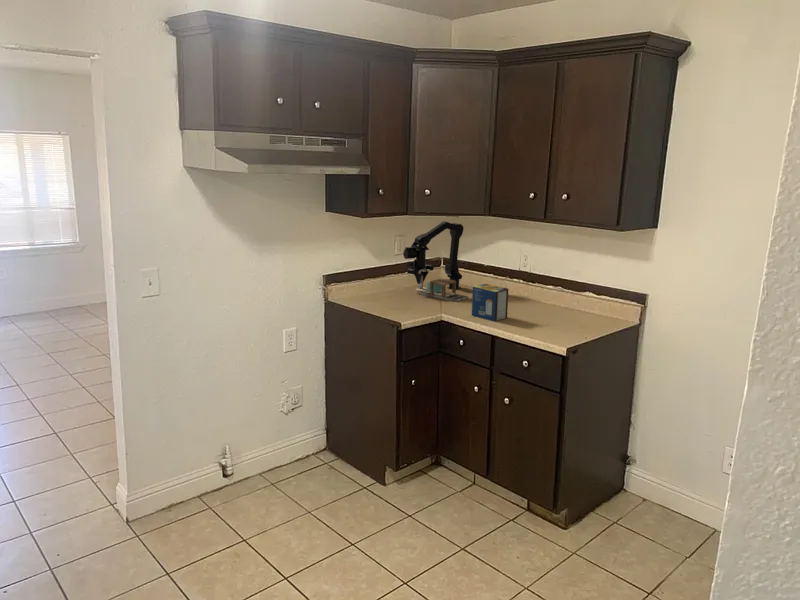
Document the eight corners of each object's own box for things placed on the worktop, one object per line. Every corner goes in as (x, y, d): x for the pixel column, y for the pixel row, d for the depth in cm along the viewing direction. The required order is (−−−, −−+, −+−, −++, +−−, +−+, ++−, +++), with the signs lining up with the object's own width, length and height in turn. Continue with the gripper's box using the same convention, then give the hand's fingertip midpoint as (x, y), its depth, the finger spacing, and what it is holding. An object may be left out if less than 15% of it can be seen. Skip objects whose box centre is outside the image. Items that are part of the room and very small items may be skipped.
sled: (422, 288, 376) (422, 274, 374) (455, 294, 361) (455, 279, 359) (414, 290, 370) (414, 276, 368) (447, 296, 355) (447, 281, 353)
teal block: (433, 289, 370) (433, 281, 368) (441, 291, 366) (441, 282, 365) (427, 291, 365) (427, 282, 364) (435, 292, 361) (435, 284, 360)
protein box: (484, 312, 328) (485, 283, 325) (507, 318, 317) (509, 288, 314) (470, 315, 322) (472, 286, 318) (494, 321, 311) (495, 291, 307)
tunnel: (430, 290, 375) (430, 276, 373) (467, 297, 359) (468, 282, 356) (417, 294, 366) (418, 279, 364) (456, 301, 349) (456, 286, 347)
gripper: (419, 254, 379) (418, 279, 383) (400, 258, 365) (399, 284, 369) (434, 256, 373) (433, 281, 376) (415, 260, 358) (414, 286, 362)
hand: (420, 283), depth 371 cm, fingers closed on sled, 3 cm apart
